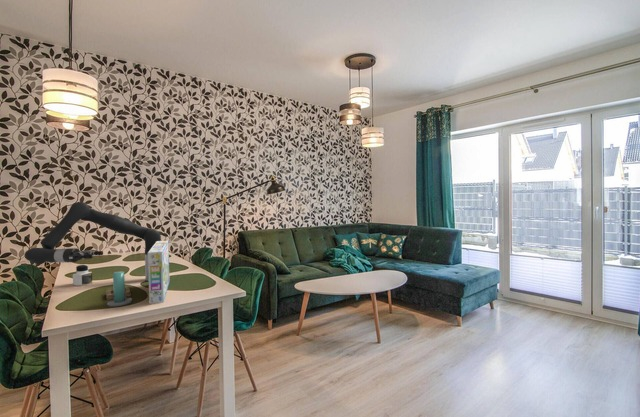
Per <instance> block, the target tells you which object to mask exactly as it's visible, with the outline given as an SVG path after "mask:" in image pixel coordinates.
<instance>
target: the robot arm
mask: <svg viewBox="0 0 640 417" xmlns="http://www.w3.org/2000/svg"><path fill="white" fill-rule="evenodd" d="M80 220H84V221H86V222H89V223H94V224H96V225H99V226H100V227H104V228H106V229H108V230H111V231H113V232H117V233H119V234H120V233H121V234H125V235H128V236H132V237H133V236H134V237H137V238H138V239H141V240H143V241H144V243H145V244H144V246H145V248H144V269H145V275H144V276H145V281H146V282H149V276H148V252H149V251H150V249H151V248H152V247H153V245H154V244H155V243H156V241H162V238H161V237H162V236H161V233H160V231H158V230H156V229H154V228H150V227H146V226H142V225H139V224H138V223H135V222H134V221H131V220H129V219H126V218H124V217H122V216H118V215H115V214H111V213H107V212H103V211H99V210H96V209H94V208H92V207H90V206H89V205H88V204H87V203H86V202H84V201H76V202H73V204H71V205H70V207H69V209H68V211H67V213H66V214H65V215H64V217H63V218H62V219H61V220H60V221H59V222H58V223H57V224H56V225H55V226H54V227H53V228H52V229H51V230H50V231H49V232H48V233H47V234H46V235H45V236H44V237H43V239H42V240H40V245H41V246H42V247H31V248H29V249H27V250H26V251H25V252H24V254H23V256H24V258H25V260H27V261H29V262H31V263H33V264H35V265H42V264H45V263H46V262H47V263H77V262H78V261H81V260H85V259H93V258H94V257H93V256H95V257H96V256H103V255H104V251H103V250H98V249H93V250H91V249H90V250H81V251H80V249H79V248H77V247H76V248H70V247H69V248H60V249H59V248H58V249H57V248H56V246H58V245H59V243H60V242H61V241H63V239H64V238H65V237H66V236H67V234H68V233H69V232H70V231H71V229H72V228H73V226H75V224H77V223H78V222H79V221H80ZM55 248H56V249H55Z"/></svg>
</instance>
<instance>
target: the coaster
mask: <svg viewBox="0 0 640 417" xmlns="http://www.w3.org/2000/svg"><path fill="white" fill-rule="evenodd" d="M132 302H133V298H131V297H125V301H123V302H119V303H115V302H114V299H110V300H108V301H107V303H106V304H107V306H108V307H112V308H116V307H123V306H127V305H130V304H131V303H132Z"/></svg>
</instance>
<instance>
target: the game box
mask: <svg viewBox="0 0 640 417" xmlns="http://www.w3.org/2000/svg"><path fill="white" fill-rule="evenodd" d="M169 249H170V248H169V240H161V241H156V243H155V244H154V245H153V247H152V248H151V249H150V251H149V252H148V276H149V281H148V304H149V305H152V304H153V305H154V304H162V303H163V304H164V302H165V299H166V295H167V291H168V288H169V285H170V281H171V280H170V278H171V277H170V258H169V257H170V255H169V254H170V253H169Z"/></svg>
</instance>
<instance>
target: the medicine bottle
mask: <svg viewBox="0 0 640 417" xmlns="http://www.w3.org/2000/svg"><path fill="white" fill-rule="evenodd" d="M75 270H76V272H75V273H73V274H72V285H73V286H77V287H80V286H81V287H83V286H87V285H89V284H92V283H93V272H92V271H89V265H88V264H79V265H77V266H76V267H75Z"/></svg>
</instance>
